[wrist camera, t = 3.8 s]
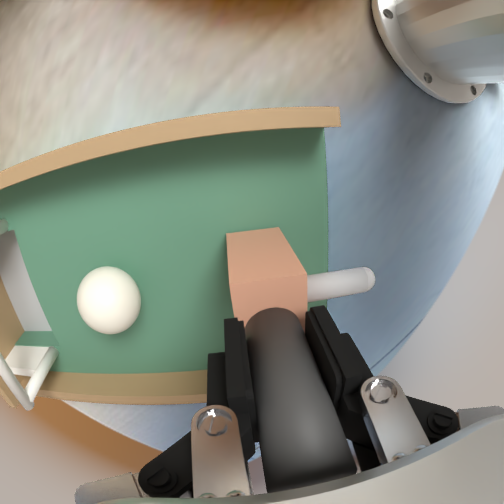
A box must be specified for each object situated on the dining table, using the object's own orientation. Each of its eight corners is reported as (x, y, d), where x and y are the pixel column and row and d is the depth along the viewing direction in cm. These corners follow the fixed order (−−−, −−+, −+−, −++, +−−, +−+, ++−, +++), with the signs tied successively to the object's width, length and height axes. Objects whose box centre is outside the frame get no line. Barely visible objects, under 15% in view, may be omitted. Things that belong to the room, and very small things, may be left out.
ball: (138, 251, 17) (118, 283, 13) (154, 308, 18) (141, 346, 14) (83, 259, 16) (56, 289, 13) (101, 312, 18) (82, 348, 14)
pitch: (309, 113, 17) (380, 99, 9) (315, 342, 24) (350, 424, 16) (-28, 190, 15) (-98, 223, 7) (36, 360, 22) (2, 422, 14)
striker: (354, 218, 17) (520, 354, 5) (351, 290, 19) (459, 446, 7) (226, 233, 16) (243, 456, 4) (236, 307, 18) (261, 513, 6)
